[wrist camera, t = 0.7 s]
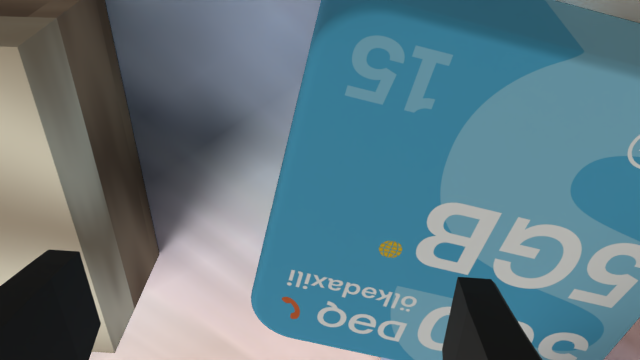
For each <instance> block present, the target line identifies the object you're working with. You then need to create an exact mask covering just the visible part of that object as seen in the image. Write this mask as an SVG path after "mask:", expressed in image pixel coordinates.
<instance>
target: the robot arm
mask: <svg viewBox="0 0 640 360" xmlns="http://www.w3.org/2000/svg"><path fill="white" fill-rule="evenodd" d="M100 325H101V322H100V319H99V316H98V312H97V309H96V306H95V302H94V299H93V296H92V292H91V289H90V285H89V282H88V279H87V275H86V272H85V269H84V265H83V262H82V259H81V255H80V252H79V251H65V250H50V249H49V250H47V251H46V252H44V253H43V254H42V255H40V256H39V257H38V258H36V259H35V260H33V261H32V262H31V263H30V264H28V265H27V266H26V267H24V268H23V269H22V270H20V271H19V272H18V273H16V274H15V275H14V276H13V277H11V278H10V279H9V280H7V281H6V282H5V283H4V284H2V285H1V286H0V360H89V357H90V355H91V352H92V349H93V346H94V343H95V340H96V337H97V334H98V331H99V328H100ZM442 356H443V360H542V358H541V357H540V355H539V354H538V352H537V351H536V349H535V348H534V346H533V345H532V343H531V342H530V340H529V339H528V337H527V335H526V334H525V332H524V331H523V329H522V327H521V326H520V324H519V323H518V321H517V319H516V318H515V316H514V314H513V313H512V311H511V310H510V308H509V306H508V304H507V303H506V301H505V299H504V298H503V296H502V294H501V292H500V291H499V289H498V287H497V285H496V284H495V283H494V282H493V281H492V279H484V278H469V277H458V278H457V282H456V287H455V291H454V296H453V301H452V305H451V310H450V315H449V319H448V324H447V329H446V333H445V338H444V343H443V347H442ZM381 360H391V359H387V358H382V357H381Z"/></svg>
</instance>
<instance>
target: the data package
mask: <svg viewBox="0 0 640 360" xmlns="http://www.w3.org/2000/svg"><path fill="white" fill-rule="evenodd" d="M458 277H469V278H484V279H492V281H493V282H494V283H495V284H496V285H497V287H498V289H499V291H500V292H501V294H502V296H503V298H504V299H505V301H506V303H507V304H508V306H509V308H510V310H511V311H512V313H513V314H514V316H515V318H516V319H517V321H518V323H519V324H520V326H521V327H522V329H523V331H524V332H525V334H526V335H527V337H528V339H529V340H530V342H531V343H532V345H533V346H534V348H535V349H536V351H537V352H538V354H539V355H540V357H541V358H542V360H603V359H604V358H605V357H606V356H607V355H608V354H609V352H610V351H611V350H612V349H613V348H614V347H615V345H616V344H617V343H618V342H619V341H620V340H621V338H622V337H623V336H624V335H625V334H626V333H627V331H628V330H629V329H630V328H631V327H632V326H633V324H634V323H635V322H636V321H637V320H638V319H639V317H640V23H637V22H633V21H629V20H625V19H622V18H618V17H614V16H611V15H607V14H603V13H599V12H596V11H592V10H588V9H585V8H581V7H577V6H573V5H570V4H566V3H562V2H559V1H555V0H321V3H320V7H319V12H318V16H317V20H316V24H315V28H314V33H313V37H312V41H311V45H310V49H309V54H308V58H307V62H306V66H305V70H304V75H303V79H302V83H301V87H300V91H299V96H298V100H297V104H296V108H295V112H294V116H293V121H292V125H291V129H290V133H289V137H288V142H287V146H286V150H285V154H284V158H283V163H282V167H281V171H280V175H279V179H278V184H277V188H276V192H275V196H274V200H273V205H272V209H271V213H270V217H269V221H268V226H267V230H266V234H265V238H264V243H263V247H262V251H261V255H260V260H259V264H258V268H257V272H256V277H255V281H254V285H253V289H252V295H251V302H252V307H253V310H254V312H255V314H256V315H257V317H258V318H259V320H260V321H261V322H262V323H263V324H264V325H265V326H267V327H268V328H269V329H271V330H273V331H274V332H276V333H278V334H280V335H283V336H286V337H290V338H294V339H299V340H303V341H308V342H313V343H317V344H322V345H326V346H331V347H336V348H340V349H345V350H350V351H354V352H359V353H364V354H368V355H373V356H377V357H382V358H387V359H391V360H443V356H442V347H443V343H444V338H445V333H446V329H447V324H448V319H449V315H450V310H451V305H452V301H453V296H454V291H455V287H456V282H457V278H458Z"/></svg>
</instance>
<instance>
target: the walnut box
mask: <svg viewBox="0 0 640 360" xmlns="http://www.w3.org/2000/svg"><path fill="white" fill-rule="evenodd" d="M0 16H7V17H42V18H57V21H58V25H59V29H60V33H61V36H62V40H63V44H64V48H65V51H66V55H67V59H68V63H69V66H70V70H71V74H72V77H73V81H74V85H75V89H76V92H77V96H78V100H79V104H80V107H81V111H82V115H83V118H84V122H85V126H86V130H87V133H88V137H89V141H90V145H91V148H92V152H93V156H94V159H95V163H96V167H97V171H98V174H99V178H100V182H101V186H102V189H103V193H104V197H105V200H106V204H107V208H108V212H109V215H110V219H111V223H112V227H113V230H114V234H115V238H116V241H117V245H118V249H119V253H120V256H121V260H122V264H123V268H124V271H125V275H126V279H127V283H128V286H129V290H130V294H131V297H132V301H133V305H134V309H135V307H136V305H137V302H138V300H139V298H140V296H141V294H142V291H143V289H144V287H145V285H146V283H147V280H148V278H149V276H150V274H151V271H152V269H153V267H154V265H155V263H156V260H157V258H158V256H159V251H158V246H157V241H156V237H155V232H154V227H153V223H152V218H151V213H150V209H149V204H148V199H147V195H146V190H145V185H144V181H143V176H142V171H141V167H140V162H139V157H138V153H137V148H136V143H135V139H134V134H133V129H132V125H131V120H130V115H129V111H128V106H127V101H126V97H125V92H124V88H123V83H122V78H121V74H120V69H119V64H118V60H117V55H116V50H115V46H114V41H113V36H112V32H111V27H110V22H109V18H108V13H107V8H106V4H105V0H0Z"/></svg>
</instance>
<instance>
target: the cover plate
mask: <svg viewBox="0 0 640 360" xmlns="http://www.w3.org/2000/svg"><path fill="white" fill-rule="evenodd" d="M49 249H50V250H65V251H79V252H80V255H81V259H82V262H83V265H84V269H85V272H86V275H87V279H88V282H89V285H90V289H91V292H92V296H93V299H94V302H95V306H96V309H97V312H98V316H99V319H100V322H101V325H100V328H99V331H98V334H97V337H96V340H95V343H94V346H93V349H92V352H106V353H115V351H116V349H117V347H118V345H119V342H120V340H121V338H122V336H123V333H124V331H125V329H126V327H127V325H128V322H129V320H130V318H131V316H132V314H133V311H134V305H133V301H132V297H131V294H130V290H129V286H128V283H127V279H126V275H125V271H124V268H123V264H122V260H121V256H120V253H119V249H118V245H117V241H116V238H115V234H114V230H113V227H112V223H111V219H110V215H109V212H108V208H107V204H106V200H105V197H104V193H103V189H102V186H101V182H100V178H99V174H98V171H97V167H96V163H95V159H94V156H93V152H92V148H91V145H90V141H89V137H88V133H87V130H86V126H85V122H84V118H83V115H82V111H81V107H80V104H79V100H78V96H77V92H76V89H75V85H74V81H73V77H72V74H71V70H70V66H69V63H68V59H67V55H66V51H65V48H64V44H63V40H62V36H61V33H60V29H59V25H58V21H57V18H42V17H7V16H0V286H1V285H2V284H4V283H5V282H6V281H7V280H9V279H10V278H11V277H13V276H14V275H15V274H16V273H18V272H19V271H20V270H22V269H23V268H24V267H26V266H27V265H28V264H30V263H31V262H32V261H33V260H35V259H36V258H38V257H39V256H40V255H42V254H43V253H44V252H46V251H47V250H49Z"/></svg>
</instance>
